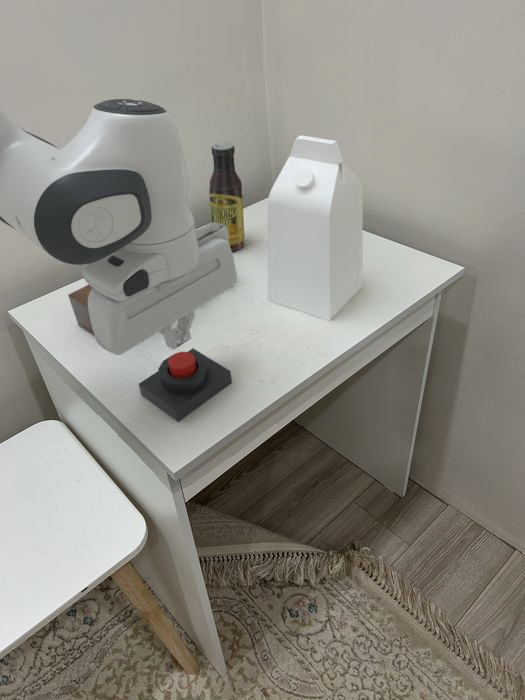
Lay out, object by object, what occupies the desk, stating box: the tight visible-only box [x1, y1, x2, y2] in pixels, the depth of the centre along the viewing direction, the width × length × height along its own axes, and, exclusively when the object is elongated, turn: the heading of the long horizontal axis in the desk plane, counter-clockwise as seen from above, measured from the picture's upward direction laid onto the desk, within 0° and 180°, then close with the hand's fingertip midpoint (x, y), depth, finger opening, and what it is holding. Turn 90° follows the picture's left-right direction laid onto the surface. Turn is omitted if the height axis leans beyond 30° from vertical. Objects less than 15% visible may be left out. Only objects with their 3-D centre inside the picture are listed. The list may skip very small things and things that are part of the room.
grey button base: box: [138, 348, 233, 423], centre depth 75 cm, size 10×8×4 cm
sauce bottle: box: [208, 141, 245, 252], centre depth 102 cm, size 7×6×20 cm
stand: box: [67, 284, 94, 336], centre depth 88 cm, size 10×10×6 cm
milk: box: [267, 135, 364, 322], centre depth 85 cm, size 12×12×26 cm
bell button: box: [168, 351, 196, 378], centre depth 74 cm, size 4×4×2 cm
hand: (178, 342), depth 71 cm, fingers closed
